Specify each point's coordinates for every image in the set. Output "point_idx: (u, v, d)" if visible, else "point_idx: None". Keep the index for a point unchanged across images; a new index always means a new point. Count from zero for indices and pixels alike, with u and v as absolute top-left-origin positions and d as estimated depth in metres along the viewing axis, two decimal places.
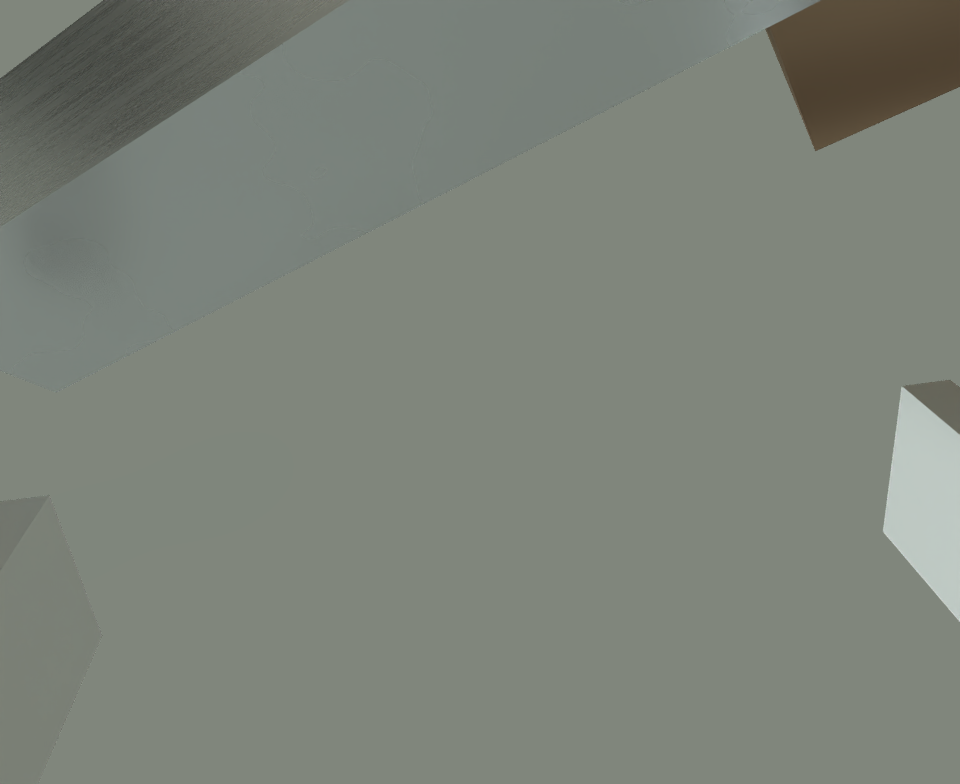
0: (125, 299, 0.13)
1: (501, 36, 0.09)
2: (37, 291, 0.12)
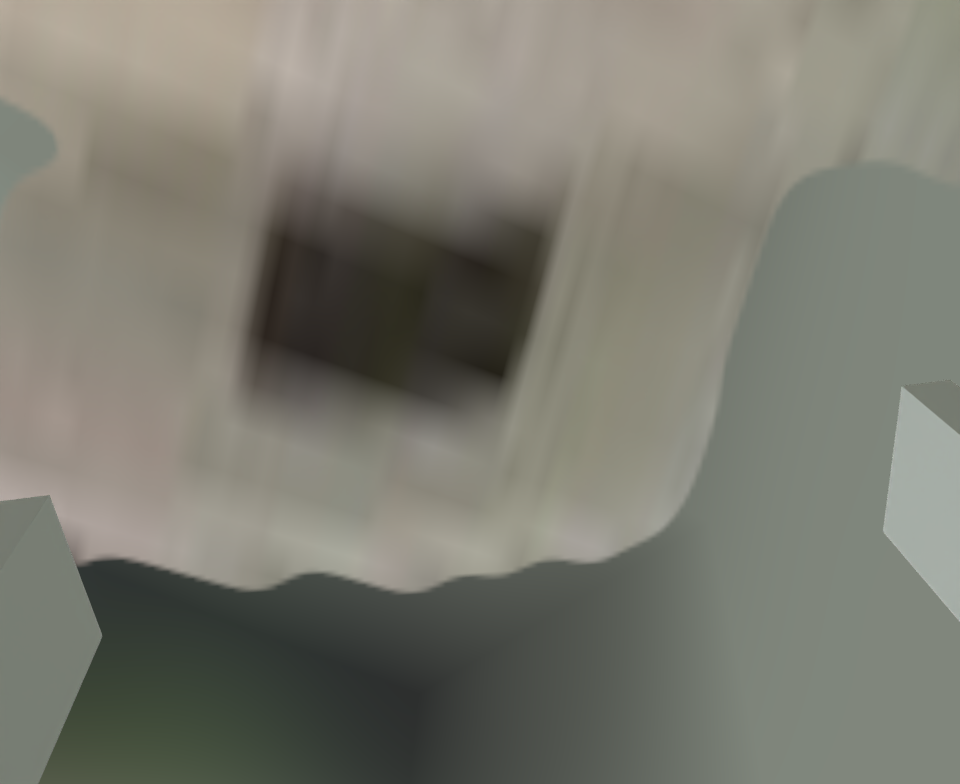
0: None
1: None
2: None
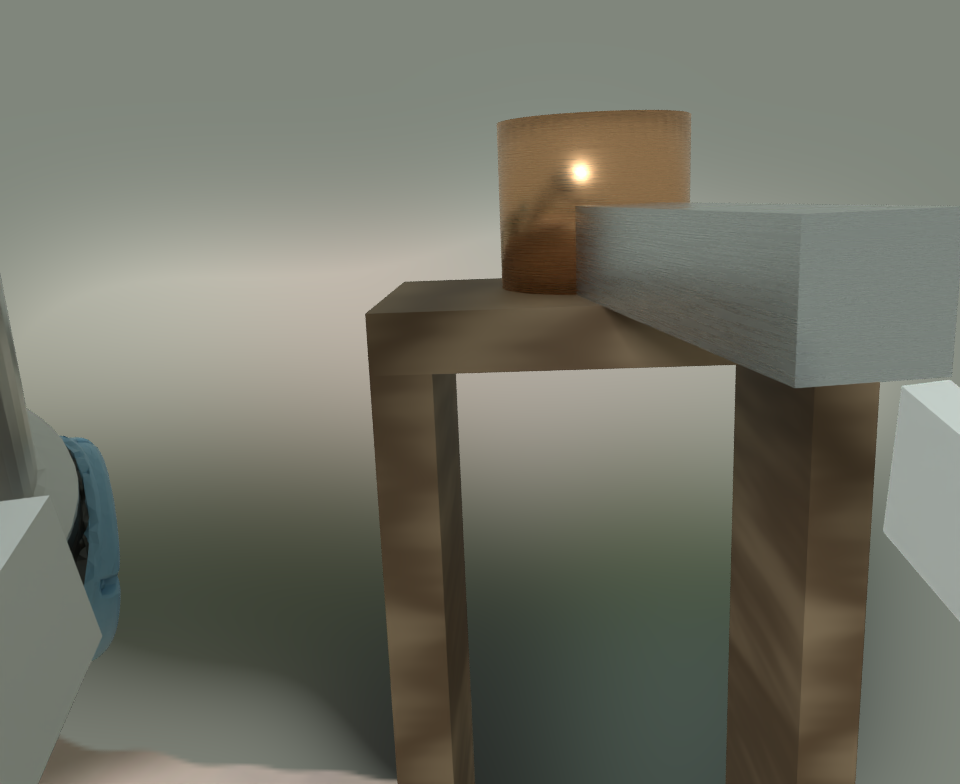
0: (824, 207, 0.18)
1: None
2: (800, 209, 0.17)
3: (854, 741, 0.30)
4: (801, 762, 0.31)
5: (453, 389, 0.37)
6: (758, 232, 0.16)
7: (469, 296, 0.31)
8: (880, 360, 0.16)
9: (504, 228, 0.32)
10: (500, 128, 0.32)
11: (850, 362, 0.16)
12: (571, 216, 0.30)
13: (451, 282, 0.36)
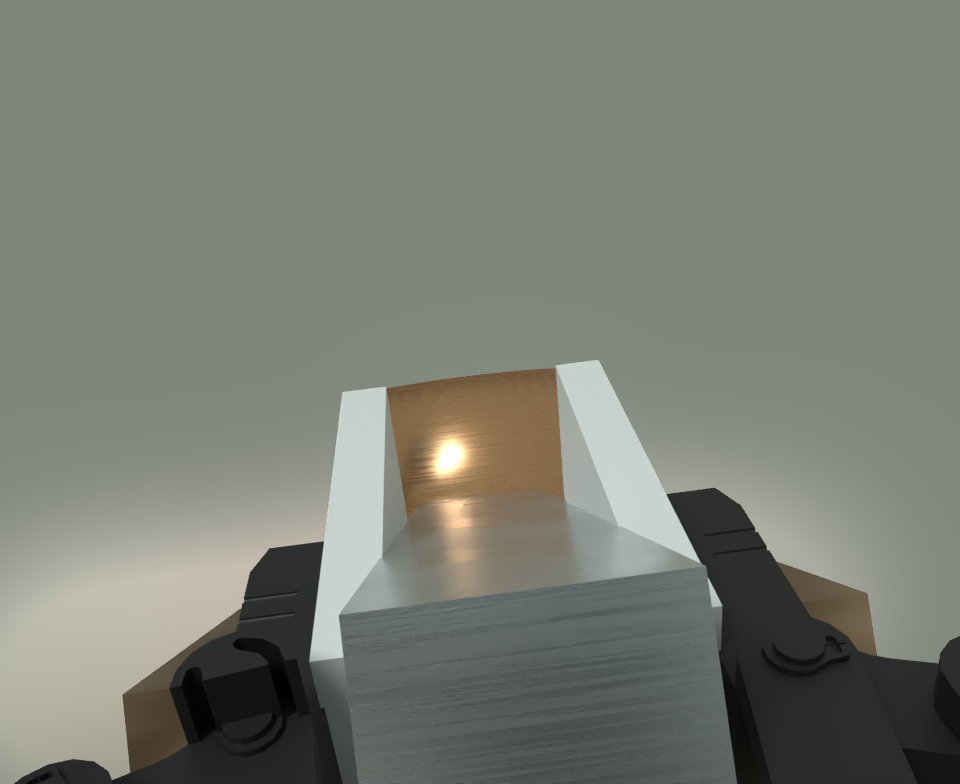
0: (547, 544, 0.10)
1: (476, 511, 0.17)
2: (470, 562, 0.09)
3: None
4: None
5: None
6: None
7: None
8: None
9: None
10: None
11: None
12: None
13: None
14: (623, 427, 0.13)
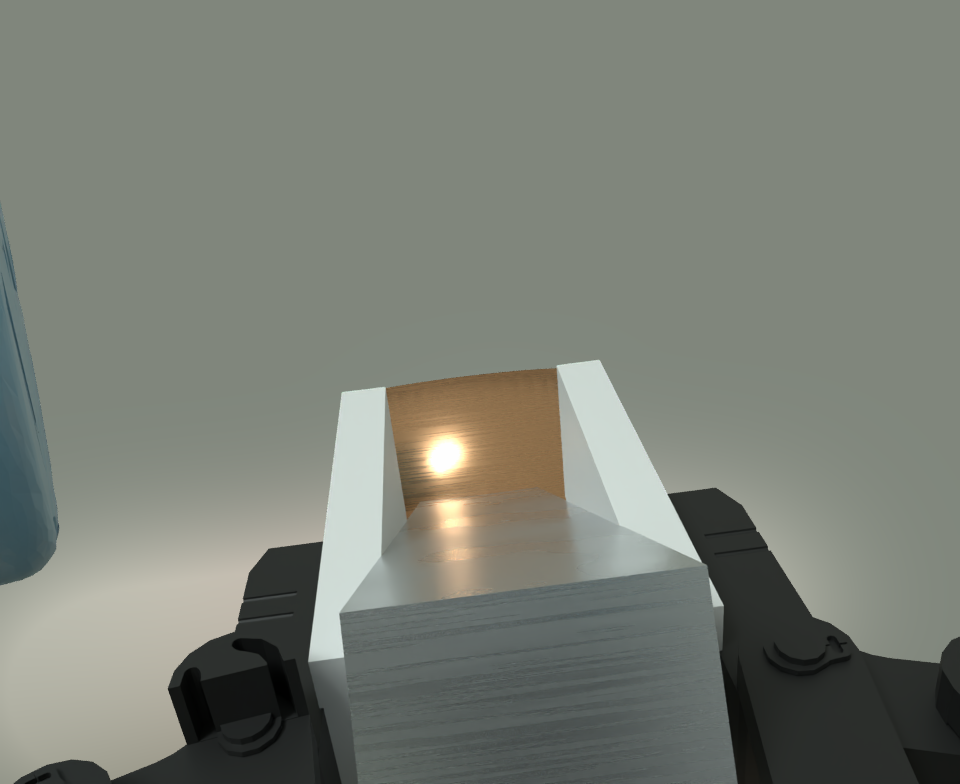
0: (547, 543, 0.10)
1: (476, 510, 0.17)
2: (471, 561, 0.09)
3: None
4: None
5: None
6: None
7: None
8: None
9: None
10: None
11: None
12: None
13: None
14: (624, 427, 0.13)
